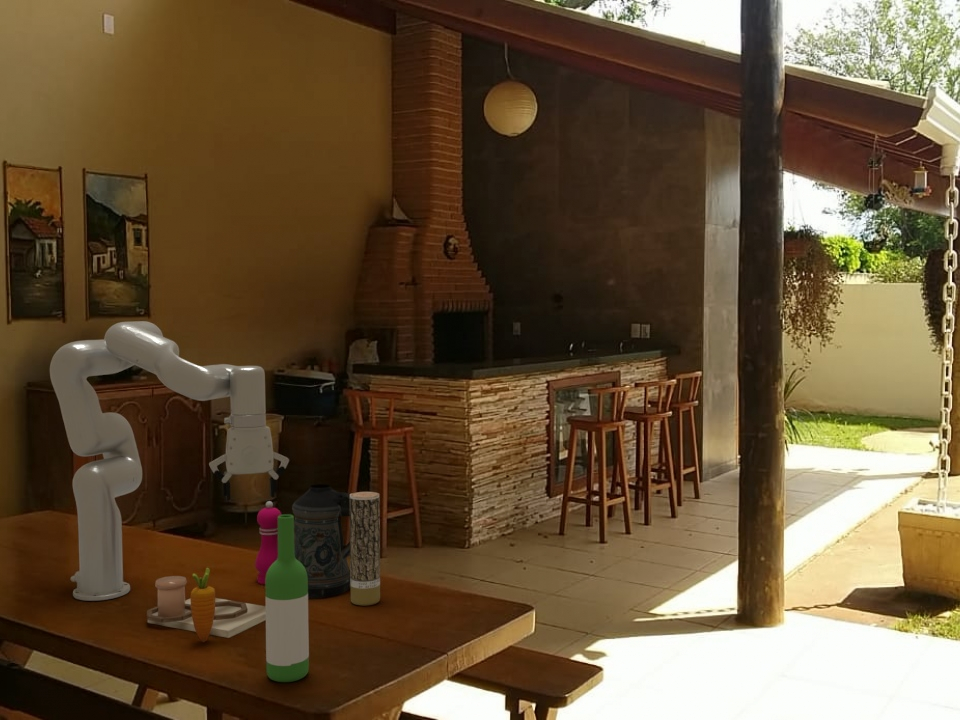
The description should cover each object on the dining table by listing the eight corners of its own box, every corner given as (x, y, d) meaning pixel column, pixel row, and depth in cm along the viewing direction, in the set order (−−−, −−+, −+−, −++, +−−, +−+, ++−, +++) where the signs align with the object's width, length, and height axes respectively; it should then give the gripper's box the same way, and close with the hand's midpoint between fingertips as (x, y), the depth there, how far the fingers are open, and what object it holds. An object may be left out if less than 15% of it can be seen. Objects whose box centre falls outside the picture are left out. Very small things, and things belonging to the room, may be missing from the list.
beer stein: (276, 583, 234) (274, 482, 233) (353, 574, 242) (352, 476, 240) (290, 602, 219) (289, 495, 218) (372, 592, 227) (371, 488, 225)
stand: (137, 624, 204) (136, 614, 204) (195, 600, 220) (195, 591, 220) (222, 641, 194) (221, 630, 194) (276, 614, 211) (276, 604, 211)
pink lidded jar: (149, 616, 205) (148, 582, 205) (170, 607, 211) (170, 574, 210) (172, 620, 202) (171, 586, 202) (193, 611, 208) (192, 578, 208)
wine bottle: (316, 677, 176) (314, 516, 174) (276, 687, 171) (274, 522, 169) (298, 664, 182) (296, 509, 180) (259, 673, 178) (257, 514, 176)
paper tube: (385, 599, 221) (385, 493, 220) (370, 608, 215) (369, 498, 214) (360, 595, 224) (359, 490, 223) (344, 604, 218) (343, 496, 216)
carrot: (193, 648, 191) (192, 574, 190) (188, 640, 195) (187, 568, 194) (218, 644, 193) (217, 571, 192) (213, 636, 197) (212, 564, 196)
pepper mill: (288, 577, 239) (287, 498, 238) (280, 585, 232) (279, 504, 231) (260, 576, 240) (259, 497, 239) (251, 585, 233) (250, 504, 232)
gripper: (209, 425, 205) (211, 504, 206) (290, 421, 211) (291, 498, 212) (207, 421, 212) (209, 497, 213) (285, 417, 218) (287, 492, 219)
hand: (250, 497), depth 213 cm, fingers open, 9 cm apart
